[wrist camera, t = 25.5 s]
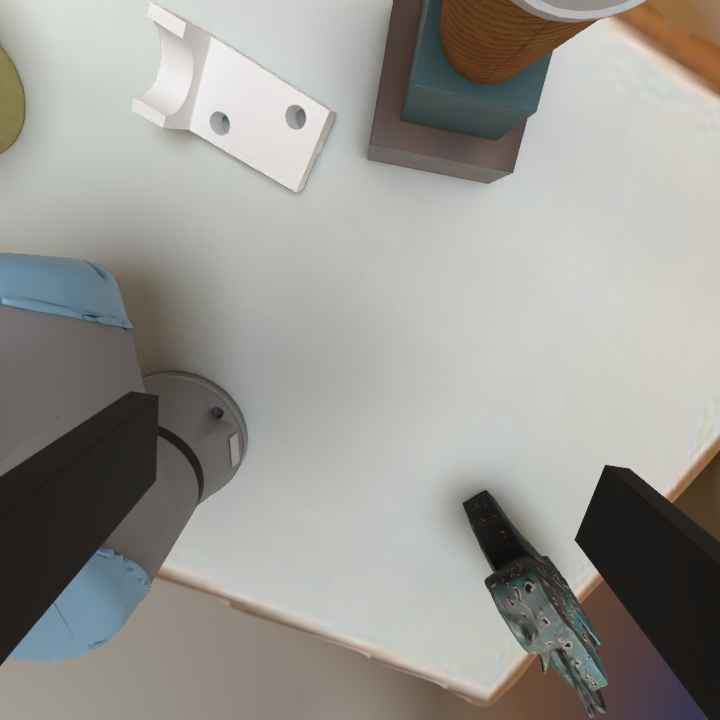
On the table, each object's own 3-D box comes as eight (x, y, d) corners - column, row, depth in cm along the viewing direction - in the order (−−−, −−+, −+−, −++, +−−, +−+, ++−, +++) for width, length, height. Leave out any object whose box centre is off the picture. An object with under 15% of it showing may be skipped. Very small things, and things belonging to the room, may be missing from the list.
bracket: (181, 115, 36) (130, 109, 30) (201, 27, 33) (150, 0, 26) (305, 188, 38) (283, 198, 32) (337, 113, 35) (319, 107, 28)
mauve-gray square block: (367, 159, 37) (369, 143, 31) (392, 8, 33) (400, -42, 28) (488, 183, 37) (513, 172, 32) (525, 38, 34) (559, -4, 28)
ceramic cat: (447, 498, 48) (510, 668, 28) (493, 470, 47) (589, 628, 27) (525, 598, 52) (624, 802, 33) (567, 575, 51) (695, 772, 32)
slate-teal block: (399, 120, 30) (412, 85, 24) (422, -2, 28) (443, -78, 22) (497, 140, 31) (536, 112, 24) (526, 22, 29) (579, -45, 22)
